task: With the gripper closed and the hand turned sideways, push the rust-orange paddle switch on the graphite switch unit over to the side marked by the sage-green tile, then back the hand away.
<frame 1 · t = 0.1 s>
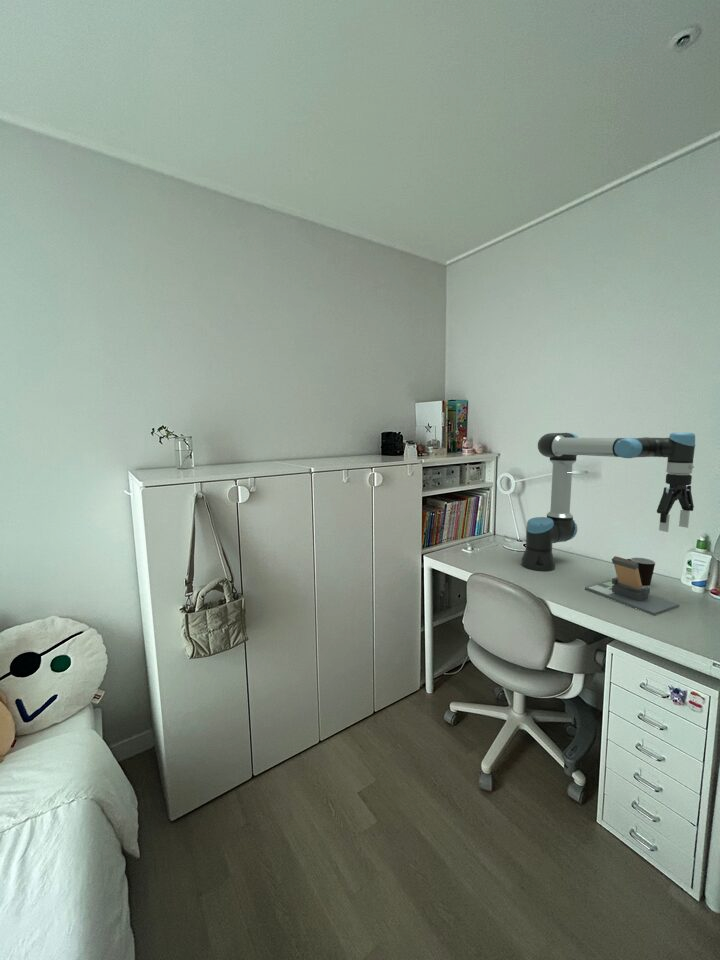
hand: (673, 529, 148), 28 cm above the table, tool pointing down, fingers open, 13 cm apart
switch unit: (629, 597, 153), on the table
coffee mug: (639, 582, 169), on the table
paddle lever: (627, 574, 150), point 10 cm above the table, hinge at -25.0°
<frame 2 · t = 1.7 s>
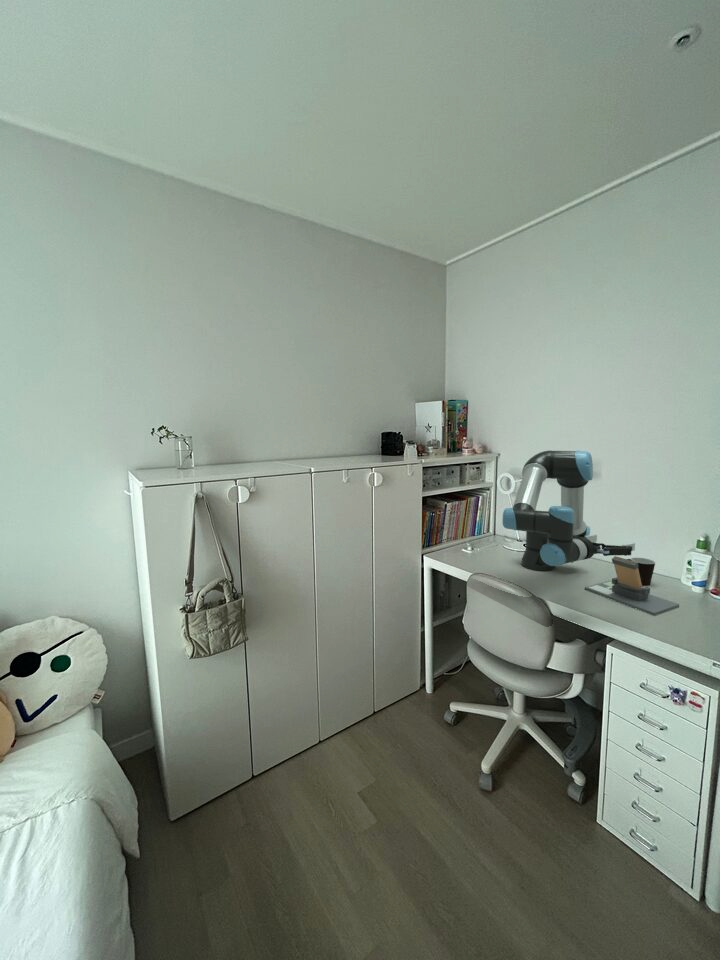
hand: (614, 542, 144), 24 cm above the table, tool horizontal, fingers open, 13 cm apart
nothing on the table moved.
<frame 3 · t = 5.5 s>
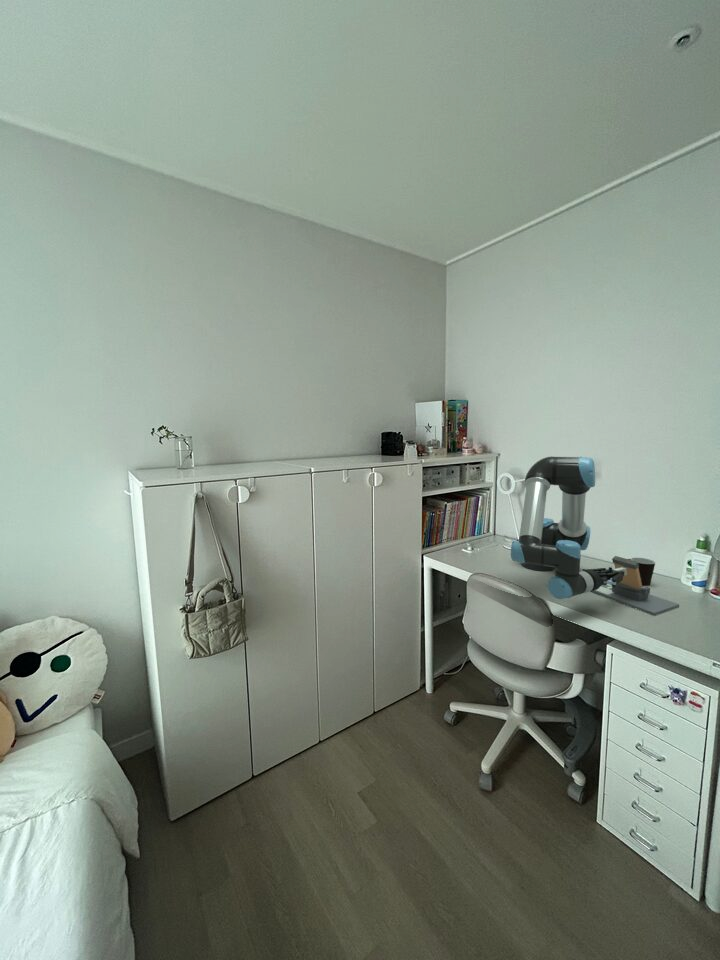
hand: (625, 570, 149), 12 cm above the table, tool horizontal, fingers closed
paddle lever: (627, 573, 150), point 10 cm above the table, hinge at -23.7°, touching gripper
everything else where it was.
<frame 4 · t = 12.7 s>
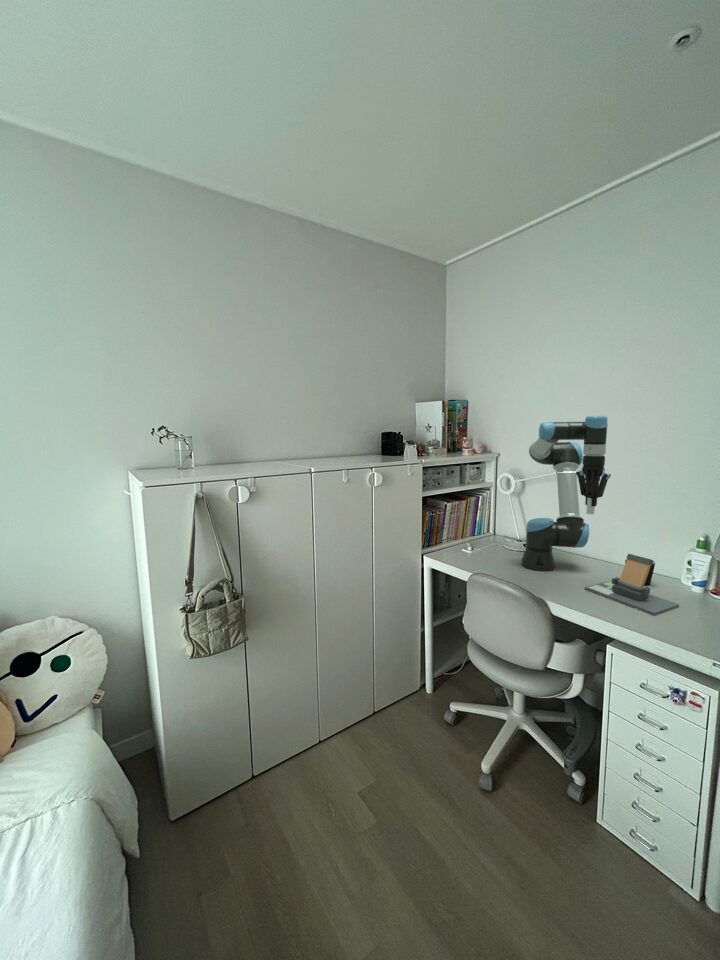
hand: (590, 513, 156), 32 cm above the table, tool pointing down, fingers closed
paddle lever: (635, 572, 152), point 10 cm above the table, hinge at 26.9°
everything else where it was.
at the end: paddle lever at +27° (first picture: -25°); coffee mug moved 0.2 cm from its start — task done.
